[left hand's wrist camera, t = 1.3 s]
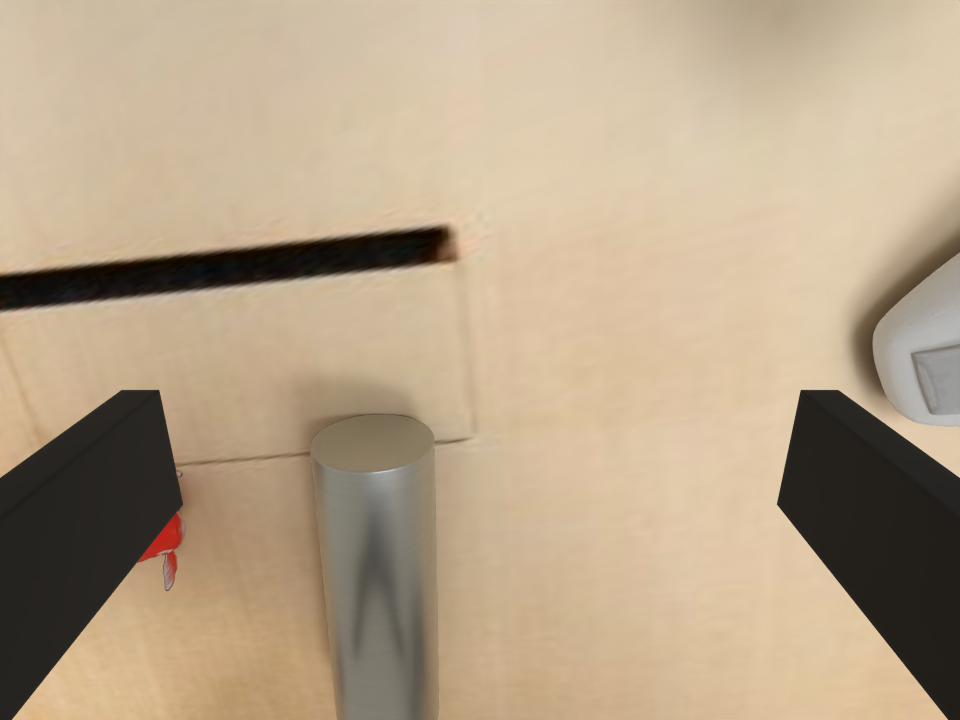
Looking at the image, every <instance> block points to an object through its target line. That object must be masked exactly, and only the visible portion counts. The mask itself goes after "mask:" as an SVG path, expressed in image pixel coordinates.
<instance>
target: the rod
mask: <svg viewBox="0 0 960 720" xmlns="http://www.w3.org/2000/svg"><path fill="white" fill-rule="evenodd" d="M310 455H311V465H312V475H313V485H314V495H315V505H316V515H317V525H318V535H319V545H320V555H321V565H322V575H323V585H324V595H325V605H326V615H327V625H328V635H329V645H330V655H331V665H332V675H333V685H334V694H335V704H336V714H337V720H437V718H438V714H439V671H438V615H437V560H436V505H435V449H434V435H433V433H432V431H431V430H430V429H429V428H428V427H427V426H426V425H425V424H423V423H421V422H419V421H417V420H415V419H412V418H408V417H404V416H398V415H390V414H373V415H363V416H357V417H352V418H348V419H344V420H341V421H338V422H336V423H334V424H331V425H329V426H327V427H326V428H324V429H323V430H321V431H320V432H319V433H318V434H317V435H316V436H315V437H314V438H313V440H312V442H311V445H310Z"/></svg>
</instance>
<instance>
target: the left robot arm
mask: <svg viewBox="0 0 960 720" xmlns="http://www.w3.org/2000/svg"><path fill="white" fill-rule="evenodd" d="M182 505H183V502H182V497H181V492H180V488H179V483H178V478H177V473H176V468H175V464H174V459H173V454H172V449H171V444H170V440H169V435H168V430H167V425H166V420H165V416H164V411H163V406H162V401H161V396H160V392H159V390H121V391H120V392H118V393H117V394H116V395H114V396H113V397H112V398H110V399H109V400H107V401H106V402H105V403H103V404H102V405H100V406H99V407H98V408H96V409H95V410H94V411H92V412H91V413H89V414H88V415H87V416H85V417H84V418H82V419H81V420H80V421H78V422H77V423H76V424H74V425H73V426H71V427H70V428H69V429H67V430H66V431H65V432H63V433H62V434H60V435H59V436H58V437H56V438H55V439H53V440H52V441H51V442H49V443H48V444H47V445H45V446H44V447H42V448H41V449H40V450H38V451H37V452H35V453H34V454H33V455H31V456H30V457H29V458H27V459H26V460H24V461H23V462H22V463H20V464H19V465H18V466H16V467H15V468H13V469H12V470H11V471H9V472H8V473H6V474H5V475H4V476H2V477H1V478H0V720H12V719H13V718H14V716H15V715H16V714H17V713H18V711H19V710H20V709H21V708H22V706H23V705H24V704H25V702H26V701H27V700H28V699H29V697H30V696H31V695H32V694H33V692H34V691H35V690H36V689H37V687H38V686H39V685H40V684H41V682H42V681H43V680H44V679H45V677H46V676H47V675H48V674H49V672H50V671H51V670H52V669H53V667H54V666H55V665H56V664H57V662H58V661H59V660H60V658H61V657H62V656H63V655H64V653H65V652H66V651H67V650H68V648H69V647H70V646H71V645H72V643H73V642H74V641H75V640H76V638H77V637H78V636H79V635H80V633H81V632H82V631H83V630H84V628H85V627H86V626H87V625H88V623H89V622H90V621H91V619H92V618H93V617H94V616H95V614H96V613H97V612H98V611H99V609H100V608H101V607H102V606H103V604H104V603H105V602H106V601H107V599H108V598H109V597H110V596H111V594H112V593H113V592H114V591H115V589H116V588H117V587H118V586H119V584H120V583H121V582H122V581H123V579H124V578H125V577H126V575H127V574H128V573H129V572H130V570H131V569H132V568H133V567H134V565H135V564H136V563H137V562H138V560H139V559H140V558H141V557H142V555H143V554H144V553H145V552H146V550H147V549H148V548H149V547H150V545H151V544H152V543H153V542H154V540H155V539H156V538H157V536H158V535H159V534H160V533H161V531H162V530H163V529H164V528H165V526H166V525H167V524H168V523H169V521H170V520H171V519H172V518H173V516H174V515H175V514H176V513H177V511H178V510H179V509H180V508H181V506H182ZM777 505H778V506H779V508H780V509H781V510H782V511H783V513H784V514H785V515H786V516H787V518H788V519H789V520H790V521H791V523H792V524H793V525H794V526H795V528H796V529H797V530H798V531H799V533H800V534H801V535H802V536H803V538H804V539H805V540H806V542H807V543H808V544H809V545H810V547H811V548H812V549H813V550H814V552H815V553H816V554H817V555H818V557H819V558H820V559H821V560H822V562H823V563H824V564H825V565H826V567H827V568H828V569H829V570H830V572H831V573H832V574H833V575H834V577H835V578H836V579H837V581H838V582H839V583H840V584H841V586H842V587H843V588H844V589H845V591H846V592H847V593H848V594H849V596H850V597H851V598H852V599H853V601H854V602H855V603H856V604H857V606H858V607H859V608H860V609H861V611H862V612H863V613H864V614H865V616H866V617H867V618H868V619H869V621H870V622H871V623H872V625H873V626H874V627H875V628H876V630H877V631H878V632H879V633H880V635H881V636H882V637H883V638H884V640H885V641H886V642H887V643H888V645H889V646H890V647H891V648H892V650H893V651H894V652H895V653H896V655H897V656H898V657H899V658H900V660H901V661H902V662H903V664H904V665H905V666H906V667H907V669H908V670H909V671H910V672H911V674H912V675H913V676H914V677H915V679H916V680H917V681H918V682H919V684H920V685H921V686H922V687H923V689H924V690H925V691H926V692H927V694H928V695H929V696H930V697H931V699H932V700H933V701H934V702H935V704H936V705H937V706H938V708H939V709H940V710H941V711H942V713H943V714H944V715H945V716H946V718H947V719H948V720H960V478H959V477H958V476H956V475H955V474H954V473H952V472H951V471H949V470H948V469H947V468H945V467H944V466H942V465H941V464H940V463H938V462H937V461H936V460H934V459H933V458H931V457H930V456H929V455H927V454H926V453H925V452H923V451H922V450H920V449H919V448H918V447H916V446H915V445H913V444H912V443H911V442H909V441H908V440H907V439H905V438H904V437H902V436H901V435H900V434H898V433H897V432H895V431H894V430H893V429H891V428H890V427H889V426H887V425H886V424H884V423H883V422H882V421H880V420H879V419H878V418H876V417H875V416H873V415H872V414H871V413H869V412H868V411H866V410H865V409H864V408H862V407H861V406H860V405H858V404H857V403H855V402H854V401H853V400H851V399H850V398H848V397H847V396H846V395H844V394H843V393H842V392H840V391H839V390H801V392H800V396H799V401H798V406H797V411H796V416H795V420H794V425H793V430H792V435H791V440H790V444H789V449H788V454H787V459H786V464H785V468H784V473H783V478H782V483H781V488H780V492H779V497H778V502H777Z"/></svg>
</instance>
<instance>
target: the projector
mask: <svg viewBox="0 0 960 720" xmlns="http://www.w3.org/2000/svg"><path fill="white" fill-rule="evenodd" d="M873 355H874V361H875V365H876V369H877V372H878V375H879V378H880V381H881V384H882V387H883V389H884V392H885V394H886V396H887V398H888V400H889V402H890V403H891V404H892V406H893V407H894V408H895V409H896V410H897V411H898V412H899V413H900V414H901V415H903V416H905V417H906V418H908V419H910V420H912V421H914V422H916V423H920V424H926V425H933V426H950V427H960V252H959V253H958V254H957V255H955V256H954V257H953V258H951V259H950V260H949V261H947V262H946V263H945V264H943V265H942V266H941V267H940V268H938V269H937V270H936V271H935V272H933V273H932V274H931V275H930V276H928V277H927V278H926V279H925V280H923V281H922V282H921V283H920V284H919V285H917V286H916V287H915V288H914V289H913V290H911V291H910V292H909V293H908V294H907V295H906V296H904V297H903V298H902V299H901V300H900V301H899V302H898V303H897V304H896V305H895V306H894V307H892V308H891V309H890V310H889V311H888V312H887V313H886V314H885V316H884V317H883V318H882V319H881V320H880V322H879V323H878V325H877V326H876V329H875V331H874V335H873Z"/></svg>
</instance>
